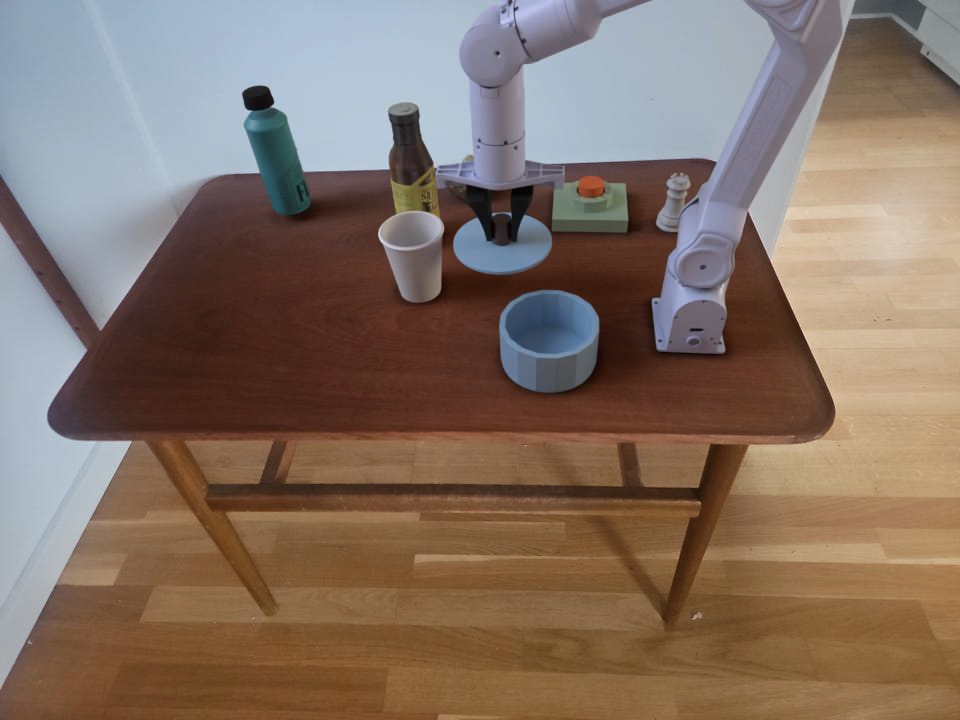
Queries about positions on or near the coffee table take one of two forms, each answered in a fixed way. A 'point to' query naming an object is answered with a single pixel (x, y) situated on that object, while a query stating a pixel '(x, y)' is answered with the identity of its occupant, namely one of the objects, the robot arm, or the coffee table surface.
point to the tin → (549, 340)
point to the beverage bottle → (275, 152)
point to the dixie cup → (414, 253)
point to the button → (590, 187)
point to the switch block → (590, 209)
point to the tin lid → (502, 245)
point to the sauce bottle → (411, 163)
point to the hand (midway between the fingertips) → (502, 236)
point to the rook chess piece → (673, 203)
